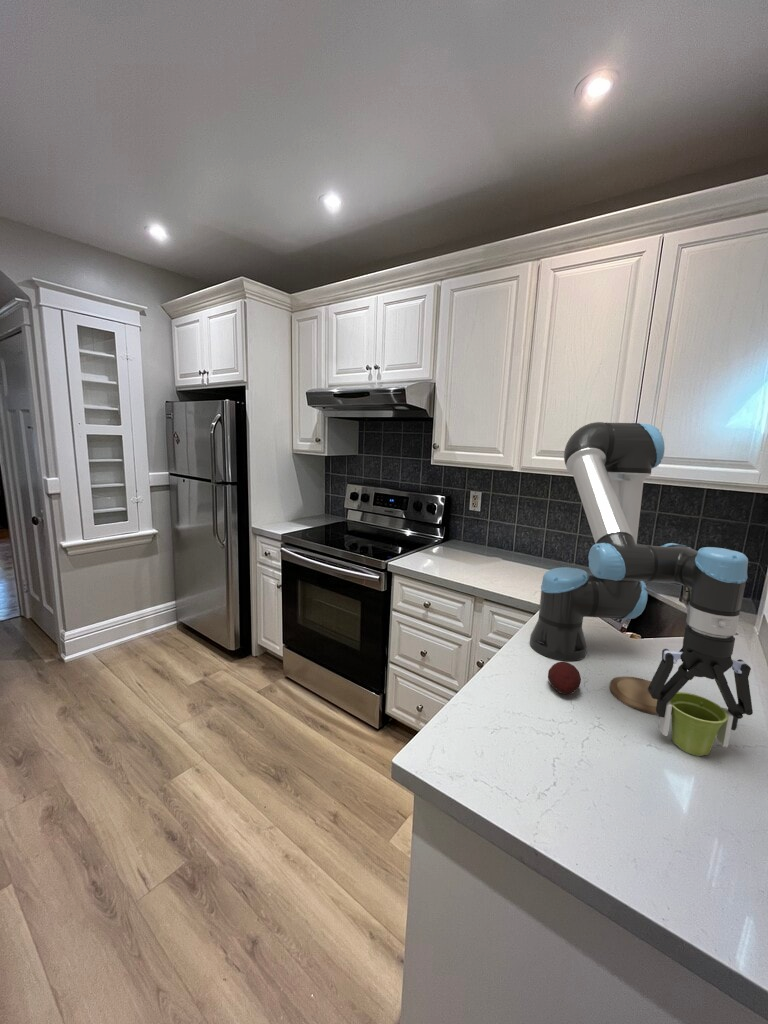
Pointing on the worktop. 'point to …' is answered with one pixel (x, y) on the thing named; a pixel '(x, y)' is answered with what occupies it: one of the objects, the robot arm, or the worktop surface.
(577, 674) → the potato
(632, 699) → the plate
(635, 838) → the worktop surface
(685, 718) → the plant pot
